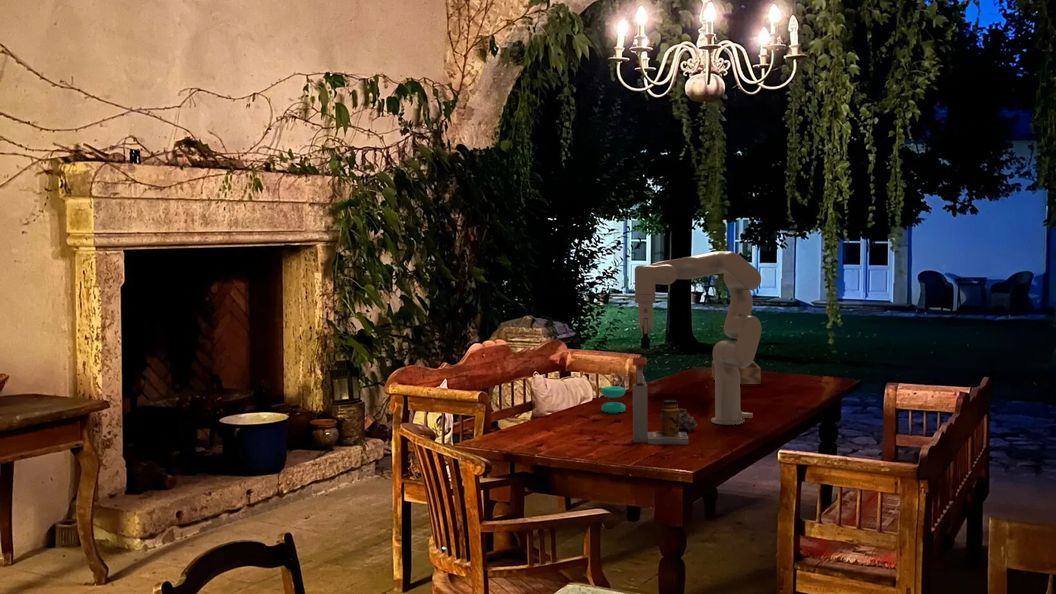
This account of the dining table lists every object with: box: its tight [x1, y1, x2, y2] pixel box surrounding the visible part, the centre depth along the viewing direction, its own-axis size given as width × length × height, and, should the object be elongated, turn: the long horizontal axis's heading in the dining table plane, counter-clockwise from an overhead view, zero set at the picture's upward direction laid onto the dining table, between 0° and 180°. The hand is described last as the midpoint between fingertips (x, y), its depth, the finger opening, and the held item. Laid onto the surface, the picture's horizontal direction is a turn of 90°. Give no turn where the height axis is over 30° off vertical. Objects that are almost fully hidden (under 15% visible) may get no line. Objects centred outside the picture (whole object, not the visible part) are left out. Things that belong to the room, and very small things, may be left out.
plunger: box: [632, 356, 648, 386], centre depth 370 cm, size 5×5×13 cm
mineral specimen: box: [659, 407, 698, 432], centre depth 391 cm, size 12×9×10 cm
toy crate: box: [711, 360, 762, 384], centre depth 508 cm, size 20×29×9 cm
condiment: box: [655, 399, 681, 436], centre depth 371 cm, size 7×8×12 cm
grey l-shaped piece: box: [632, 383, 690, 445], centre depth 371 cm, size 19×12×20 cm, turn 85°
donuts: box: [600, 385, 627, 414], centre depth 432 cm, size 10×10×10 cm
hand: (645, 348), depth 386 cm, fingers closed
